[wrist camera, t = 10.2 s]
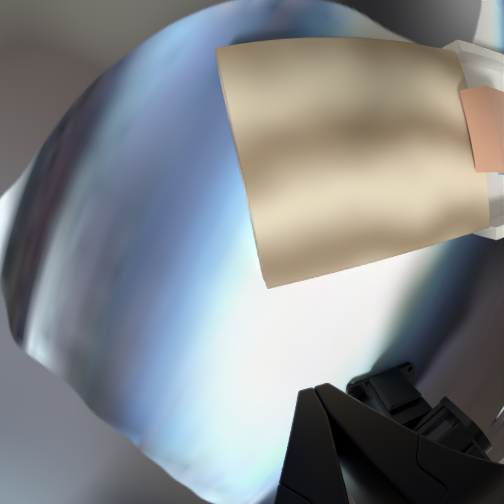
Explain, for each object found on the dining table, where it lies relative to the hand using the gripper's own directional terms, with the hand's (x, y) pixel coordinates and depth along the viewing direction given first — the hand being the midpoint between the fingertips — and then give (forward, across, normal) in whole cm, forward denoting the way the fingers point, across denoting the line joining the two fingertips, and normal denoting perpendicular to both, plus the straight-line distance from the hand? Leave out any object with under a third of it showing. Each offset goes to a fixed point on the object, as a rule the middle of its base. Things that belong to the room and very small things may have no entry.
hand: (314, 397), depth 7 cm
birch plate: (+12, -9, -7) cm, 17 cm away
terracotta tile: (+10, -19, -7) cm, 23 cm away
